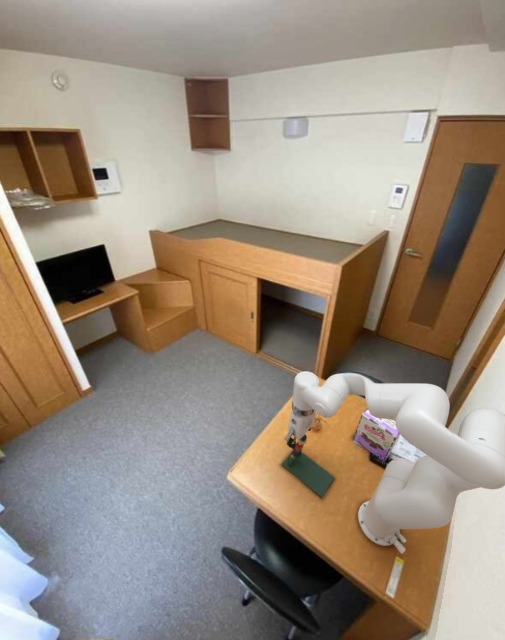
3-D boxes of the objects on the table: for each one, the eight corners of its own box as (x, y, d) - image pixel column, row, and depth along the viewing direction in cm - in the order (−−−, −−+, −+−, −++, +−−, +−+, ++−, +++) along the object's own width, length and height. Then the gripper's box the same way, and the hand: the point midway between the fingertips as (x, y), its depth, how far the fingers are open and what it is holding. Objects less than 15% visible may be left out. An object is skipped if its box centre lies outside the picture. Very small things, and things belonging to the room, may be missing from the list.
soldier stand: (334, 479, 103) (336, 471, 100) (321, 498, 98) (323, 490, 95) (295, 448, 113) (296, 440, 110) (281, 465, 108) (282, 456, 105)
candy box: (352, 438, 117) (361, 413, 108) (359, 430, 121) (369, 405, 111) (383, 462, 109) (396, 437, 100) (390, 453, 112) (403, 428, 103)
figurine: (326, 428, 121) (331, 410, 115) (322, 439, 117) (326, 421, 110) (308, 419, 125) (312, 401, 118) (303, 430, 120) (307, 412, 114)
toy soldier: (310, 435, 98) (303, 429, 100) (304, 443, 96) (296, 437, 97) (300, 454, 107) (294, 448, 109) (294, 462, 105) (288, 456, 106)
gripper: (297, 429, 83) (293, 461, 92) (327, 395, 94) (320, 427, 103) (277, 415, 87) (275, 447, 97) (308, 384, 98) (303, 416, 107)
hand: (299, 437), depth 100 cm, fingers open, 9 cm apart
